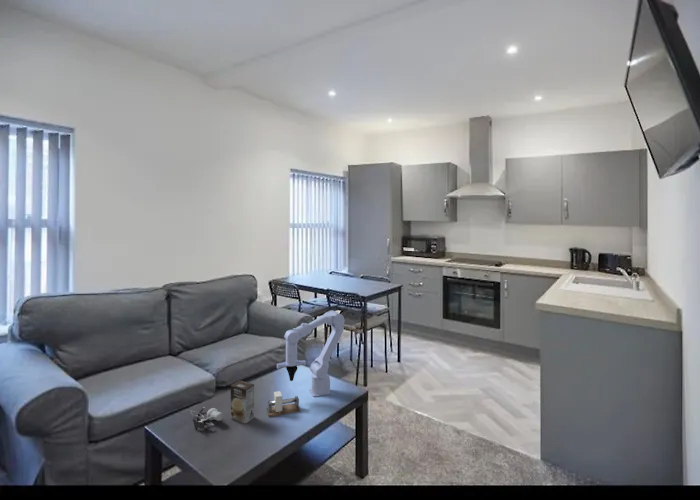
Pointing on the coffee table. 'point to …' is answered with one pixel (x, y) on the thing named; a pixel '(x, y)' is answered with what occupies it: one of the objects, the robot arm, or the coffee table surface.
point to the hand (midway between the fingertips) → (291, 380)
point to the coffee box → (242, 401)
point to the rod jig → (284, 407)
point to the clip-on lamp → (211, 415)
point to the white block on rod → (278, 401)
